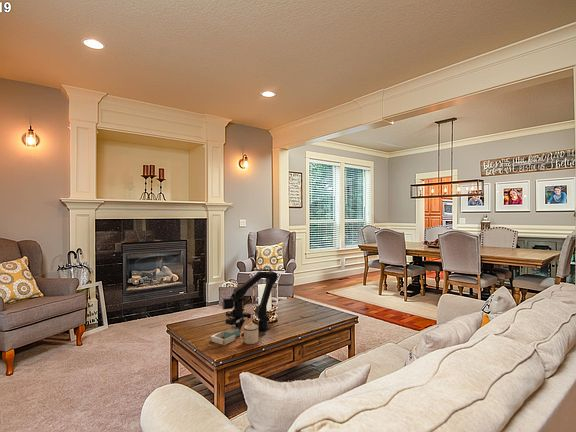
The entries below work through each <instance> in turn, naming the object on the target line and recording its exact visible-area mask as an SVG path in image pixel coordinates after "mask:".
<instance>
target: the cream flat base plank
mask: <svg viewBox="0 0 576 432" xmlns="http://www.w3.org/2000/svg"><path fill="white" fill-rule="evenodd" d="M234 341H236V337H235V335H232V336H230V337H228V338H224V331H219V332H217V333H216V334H213V335H211V336H210V342H212V343H215V344H219V345H223V346H226V345H228V344H230V343H232V342H234Z"/></svg>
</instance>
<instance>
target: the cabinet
mask: <svg viewBox="0 0 576 432" xmlns="http://www.w3.org/2000/svg"><path fill="white" fill-rule="evenodd" d="M230 326H231V327H230V328H228V329H226V330H223V339H225V338H228V337H230V336H232V335H235V338H237V337H240V333H241V330H240V329H239V327H236V326H235V325H230Z"/></svg>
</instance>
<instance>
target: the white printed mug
mask: <svg viewBox="0 0 576 432" xmlns="http://www.w3.org/2000/svg"><path fill="white" fill-rule="evenodd" d="M258 328H259V324H255V323H254V322H252V321H250V322H249V323H247V324H245V325H244V326H243V331H240V335H239V338H240V339H241V340H243V342H244V344H247V345H254V344H257V343H258V342H259V330H258ZM242 335H243V337H242Z"/></svg>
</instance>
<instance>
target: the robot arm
mask: <svg viewBox="0 0 576 432" xmlns="http://www.w3.org/2000/svg"><path fill="white" fill-rule="evenodd" d="M278 278H279V276H278V273H277V272H275V271H274V270H273V271H272V270H269V271H261V270H260V271H257V273H255V274H254V275H252V277H250V278H249V279H248V280H246V282H244V283H243V284H241V285H239V286H237V287H236V288H234V289H233V291H232V294H231V295H230V297H229V298H223V299H222V302H221V307H222V310H228V311H226V312H225V317H226V319H225V320H224V321H225V324H226V325H230V326H234V327H239V329H240V331H241V329H242V327H243V325H244V323H245V322H246V320H245V318H247V319H248V320H249V319H251V318H252V314H251V313H250V312H244V311H245V308H244V301H247V299H246V297H244V296H245V295H246V294H247V291H248V290H249V289H250V288H252V287H253V286H254V285H255V284H256V283H258V282H259V281H260V280H261V279H265V285H264V289H263V294H262V296H261V299H260V303H259V305H256V306H255V309H254V314H255V317H256V318H257V320H258V327H259V328H258V331H262V332H266V331H268V330H270V329H271V328H270V327H269V322H270V319H271V318H270V317H269V316H268V314H267V312H268V311H267V310H268V308H267V306H268V302H269V299H270V296H271V292H272V288H273V286H274V284H275V283H276V281H277V280H278ZM229 310H232V311H229Z"/></svg>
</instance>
